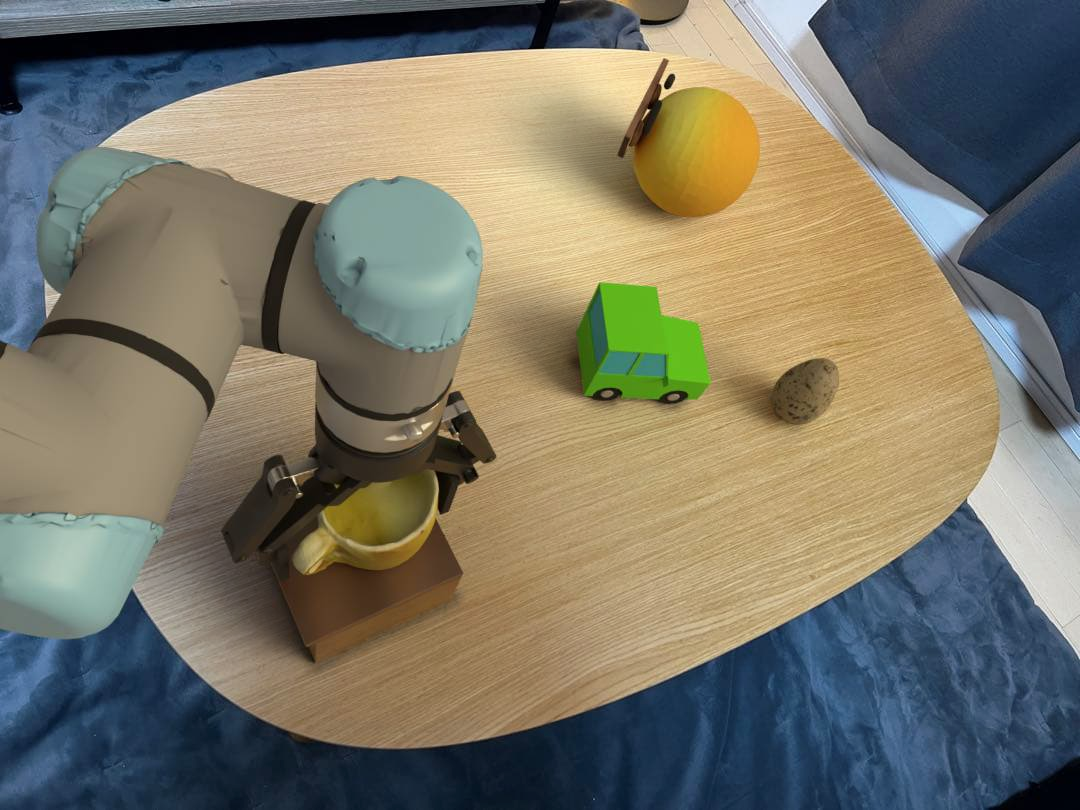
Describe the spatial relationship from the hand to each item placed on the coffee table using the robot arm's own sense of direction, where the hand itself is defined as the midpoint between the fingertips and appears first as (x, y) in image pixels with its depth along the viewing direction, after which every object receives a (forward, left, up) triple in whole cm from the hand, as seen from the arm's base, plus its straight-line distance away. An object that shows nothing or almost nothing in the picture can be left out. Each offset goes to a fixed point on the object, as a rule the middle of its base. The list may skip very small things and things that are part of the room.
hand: (361, 530), depth 68 cm
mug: (0, 0, -1) cm, 2 cm away
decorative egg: (+50, -3, -9) cm, 51 cm away
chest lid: (0, 0, -2) cm, 2 cm away
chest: (0, 0, -9) cm, 9 cm away
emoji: (+55, +29, -9) cm, 63 cm away
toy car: (+36, +8, -9) cm, 38 cm away
